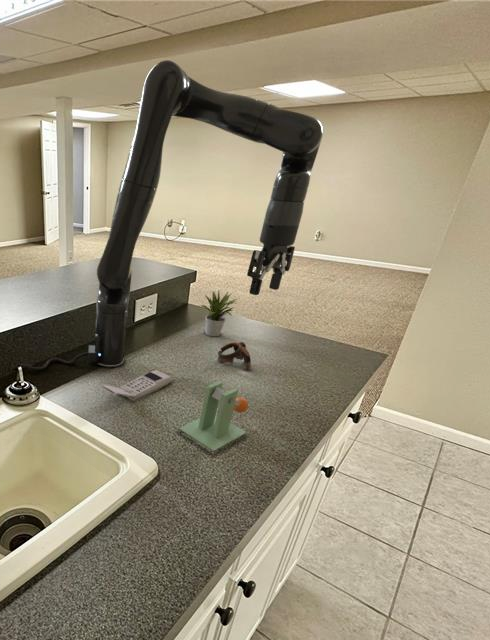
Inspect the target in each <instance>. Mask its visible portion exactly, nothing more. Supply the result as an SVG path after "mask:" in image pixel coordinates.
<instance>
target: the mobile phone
mask: <svg viewBox="0 0 490 640" xmlns="http://www.w3.org/2000/svg"><path fill="white" fill-rule="evenodd" d="M174 380H175V378H174V377H171V376H170V375H168V374H166V373H164V372H162V371H159V370H157V369H155V370H152V371H149V372H146V373H144V374H142V375H141V376H139V377H137V378H135V379H133V380H131V381H129V382H127V383H125V384H124V385H121V386H119V387H118V386H114V385H109V384H105V383H102V384H101V387H102V388H104V389H106V390H107V391H109V392H111V393H113V394H114V395H120V396H124V397H125V398H127V399H129V400H130V401H132V402H135V401H138V400H140V399H143V398H145V397H147V396H149V395H151V394H153V393H155V392H157V391H159V390H161V389H162V388H164V387H165V386H167V385H168V384H170V383H171V382H173V381H174Z"/></svg>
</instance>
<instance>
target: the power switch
mask: <svg viewBox="0 0 490 640" xmlns="http://www.w3.org/2000/svg"><path fill="white" fill-rule="evenodd" d="M223 384H224V382H223V381H221V380H217V381H215V382H212V383H211V384H209V385H206V388H205V393H204V398H203V402H202V408H201V412H200V417H199V418H197V419H194V420H193V421H191V422H189V423H187V424H183V425H182V426H181V427H179V428H178V429H179V430H180V431H181V432H183V433H184V434H186V435H188V436H189V437H191V438H192V439H193V440H195V441H197V442H198V443H200V444H201V445H203V446H205V447H206V448H208V449H209V450H211V451H212V452H215V451H217V450H220V449H221V448H222V447H224V446H227V445H228V444H230V443H232V442H234V441H235V440H237V439H239V438H240V437H242V436H244V435H246V434H247V433H248V432H247V431H246V430H245V429H242V428H240V427H239V426H237V425H235V424H234V423H232V422H231V421H232V417H233V413H234V405H235V401H236V398H238V397H237V396H238V392H239V389H237V388H235V387H234V388H232V389H230V390H227V391H226V392H225V393H223V394H222V396H221V400H220V402H219V400H217V399H216V398H214V397H212V394H213V393H214V391H215V389H216V387H218V388H220V389H222V388H223ZM222 390H223V389H222Z"/></svg>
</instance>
